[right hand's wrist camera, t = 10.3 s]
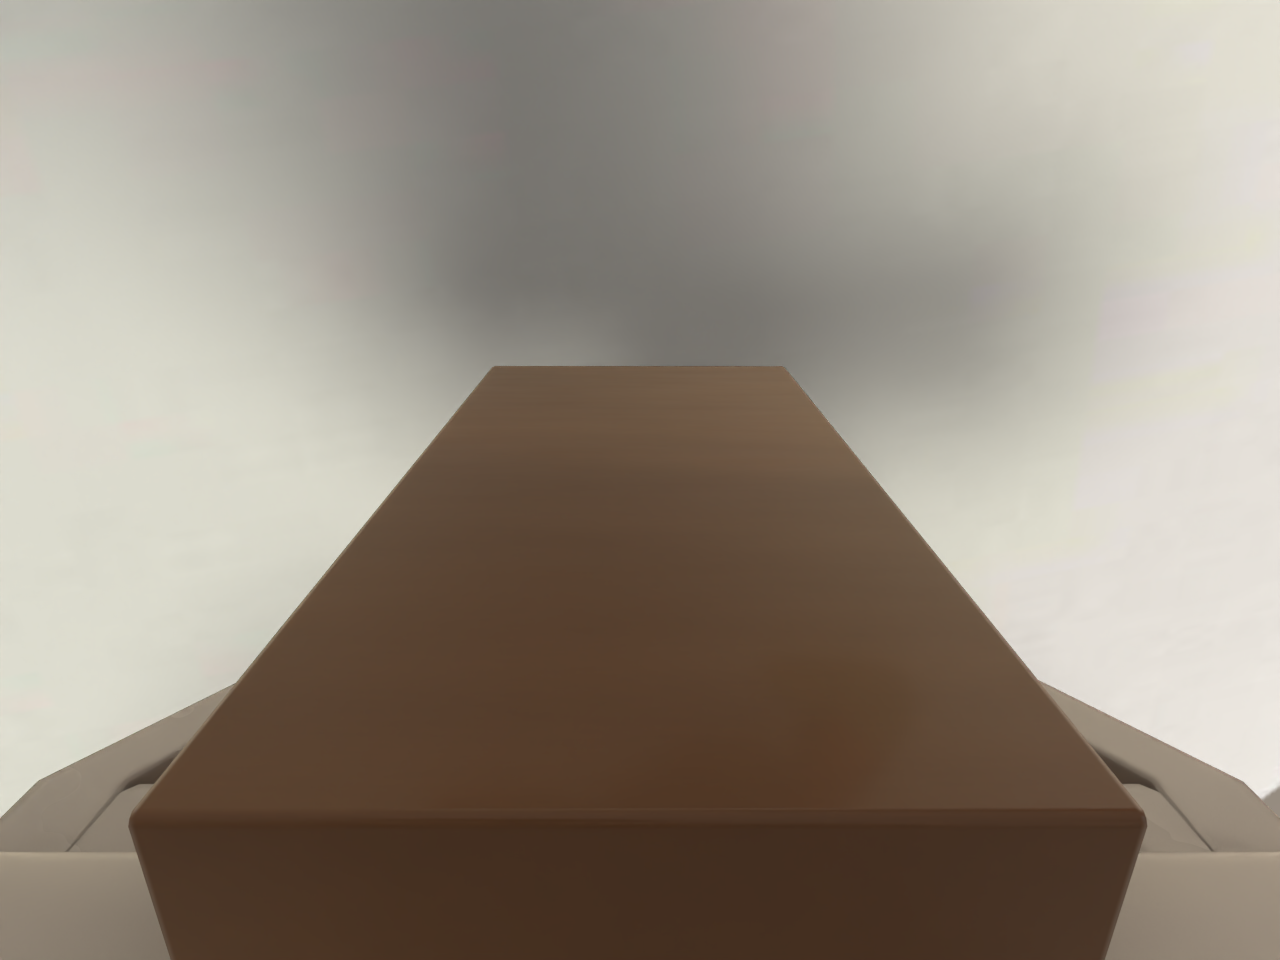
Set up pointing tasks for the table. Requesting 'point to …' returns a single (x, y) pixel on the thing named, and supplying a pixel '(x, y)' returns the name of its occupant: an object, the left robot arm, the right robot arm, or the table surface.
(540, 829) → the bar
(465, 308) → the table surface
